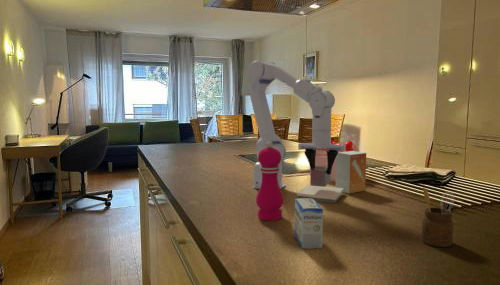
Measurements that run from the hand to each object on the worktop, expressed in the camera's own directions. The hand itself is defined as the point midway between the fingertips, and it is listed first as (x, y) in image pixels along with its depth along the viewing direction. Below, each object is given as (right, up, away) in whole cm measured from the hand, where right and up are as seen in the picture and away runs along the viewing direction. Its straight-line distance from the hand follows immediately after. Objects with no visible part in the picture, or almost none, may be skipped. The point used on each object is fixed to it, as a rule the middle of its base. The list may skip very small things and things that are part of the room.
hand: (321, 173), depth 113 cm
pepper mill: (-17, -10, -18) cm, 27 cm away
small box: (+12, -7, +9) cm, 16 cm away
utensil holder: (+17, -12, -36) cm, 42 cm away
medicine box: (-10, -12, -35) cm, 38 cm away
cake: (+11, -4, +31) cm, 33 cm away
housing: (0, -3, 0) cm, 3 cm away
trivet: (0, -8, +1) cm, 8 cm away
